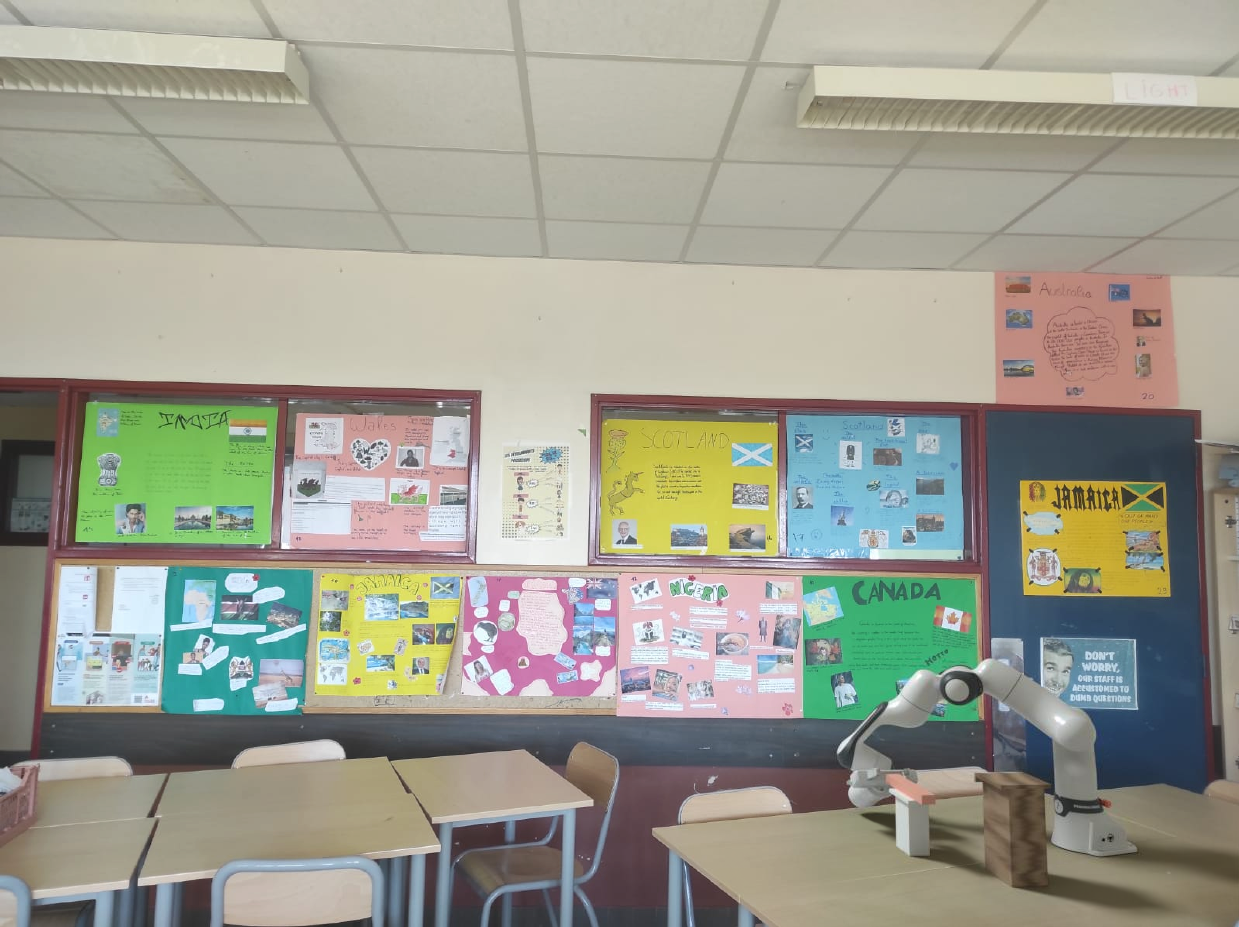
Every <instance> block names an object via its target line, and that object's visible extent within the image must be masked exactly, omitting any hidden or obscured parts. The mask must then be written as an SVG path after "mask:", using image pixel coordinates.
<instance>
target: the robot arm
mask: <svg viewBox="0 0 1239 927" xmlns="http://www.w3.org/2000/svg"><path fill="white" fill-rule="evenodd" d="M983 694H986V695H989V696H991V697H992V698H994V699H996V700H998V701H999V702H1000V703H1001V704H1002V705H1005V706H1006V707H1007V708H1008V709H1011V710H1012V711H1013V712H1015V713H1016V714H1018V715H1019V716H1021V717H1022V718H1024V719H1025V720H1027V722H1029V723H1030V724H1032V725H1033V726H1034V727H1036V728H1037V729H1038V730H1040V731H1041V732H1042V733H1044V734H1045V735H1046V736H1048V738H1050V739H1052V753H1053V756H1052V757H1053V771H1054V772H1053V773H1054V774H1053V775H1054V792H1053V807H1054V823H1053V830H1052V836H1051V839H1050V841H1051V843H1052V844H1054V845H1055V846H1057V847H1060V848H1062V849H1065V850H1069V851H1073V852H1077V853H1083V854H1088V855H1091V856H1095V857H1107V856H1115V855H1124V854H1129V853H1130V854H1131V853H1137V852H1138V848H1137V846H1136V845H1135V844H1134V843H1131V842H1130V841H1128V837H1127V836H1128V835H1127V833H1126V829H1125V827H1124V826H1123V825H1122V824H1121V823H1120V822H1119V821H1117V820H1116V819H1115V818H1113V817H1112V816H1111V815H1110V814H1109V813H1108V812H1106V811H1105V808H1107V809H1110V808H1111V807H1112V802H1111V801H1110V800H1107V799H1102V798H1100V797H1098V780H1097V779H1098V778H1097V776H1098V775H1097V766H1096V765H1097V764H1096V755H1095V746H1094V745H1095V742H1096V740H1097V732H1096V727H1095V725H1094V724H1093V721H1092V719H1091V718H1090V716H1089V714H1087V712H1085V711H1084V710H1083V709H1082V708H1079V707H1077V706H1073V705H1069V704H1068V703H1067V702H1065V701H1063V700H1062V699H1060V698H1059V697H1058V696H1056V695H1055V694H1054V693H1052V692H1051V691H1049V690H1048V689H1047V688H1045V687H1043V686H1042V685H1040V684H1039V683H1038V682H1036V681H1034V680H1033V679H1031V678H1030V677H1028V676H1026V675H1025V674H1024V673H1022V672H1020V671H1018V670H1017V669H1015V668H1013V667H1012V666H1010V665H1008V664H1006V663H1004V662H1002V661H1000V660H997V659H995V658H987V659H986V658H985V659H984V660H983V661H981V662H980V663H979V664H978V665H977V666H976V668H974V669H972V668H971V667H970V666H968V665H964V664H956V665H952V666H950V667H947V668H946V669H944V670H942V671H940V672H939V673H938V674H937V673H935V672H934V671H931V670H928V669H919V670H917V671H915V673H914V674H913V675H912V676H911V677H910V678H909V679H908V681H907V682H906V683H905V684H904V686H903V688H902V689H901V691H900V692H899V693H898V694H897V696H895V697H894V698H893V699H891V700H889V701H882V702H880V703H879V704H878V705H877V706H876V707H874V709H873V710H872V711H871V712H870V713H868V714H867V716H866V717H865V718H864V719H863V720H862V722H860V724H859V725H858V726H857V727H856V728H855V729H854V730H853V731H852V732H851V733H850V734H849V735H848V736H847V737H846V738H845V739H844V740H843V741H841V743H840V745H839V746H838V747H837V750H836V757H837V760H838V762H839V764H840V766H841V767H843V768H845V769H847V770H849V771H852V773H851V774H850V775H849V776H850V779H848V780H847V781H846V785H849V786H850V787H849V789H848V793H847V794H848V798H849V800H850V801H851V803H852V804H853V805H854V806H856V807H857V808H859V809H860V808H861V809H866V808H870V807H872V806H873V805H876V804H877V803H878V802H879V801H881V800H883V799H887V798H889V797H892V796H893V797H894V795H893V794H891V793H890V792H889V789H895V788H894V787H892V786H891V785H889V784H887V783H886V774H899V775H901V776H903V777H905V778H906V779H908V780H910V781H912V782H913V783H915V784H917V785H918V782H919V778H918V774H917V771H916V770H915V769H910V768H909V767H908V768H907V767H906V768H905V767H904V768H903V769H895V765H894V762H893V761H892V759H891V758H890V757H888V756H886V755H884V754H882V753H881V752H879V751H877V750H876V749H874V748H872V747H870V746H869V745H867V744H865V743H864V742H865V741H866V740H867V739H868V737H870V736H871V734H873V732H874V731H875V730H876V729H877V728H878V727H880V726H883V725H888V726H889V725H892V726H896V727H901V728H909V729H911V728H918V727H920V726H923V725H924V724H925V723H926V721H927V720H929V718H930V716H931V714H932V713H933V711H934V710H935V708H936V707H937V705H938V703H939V702H940V701H941V700H945V701H946V702H948V703H949V704H951V705H953V706H960V707H962V706H967V705H968V704H970V703H972V702H974V701H975V700H976V699H977V698H979V697H981V696H982V695H983ZM1104 807H1105V808H1104Z"/></svg>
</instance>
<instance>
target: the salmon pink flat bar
mask: <svg viewBox="0 0 1239 927" xmlns="http://www.w3.org/2000/svg"><path fill="white" fill-rule="evenodd" d="M886 783H887V784H889V785H891V786H892V787H894V788H895V789H897V790H899V791H900V792H902V793H904V794H905V795H907V796H908V797H910V798H912V799H913V800H915V801H917V802H918V803H920V804H922V805H929V806H930V805H931V806H933V805H936V803H937V802H936V794H934V793H933V792H930V791H929V790H927V789H925V788H924V787H922V786H921V785H918V783H917V784H915V783H913V782H912V781H910V780H908V779H906V778H905V777H903V776H901V775H899V774H886Z"/></svg>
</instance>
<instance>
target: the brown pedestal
mask: <svg viewBox="0 0 1239 927" xmlns="http://www.w3.org/2000/svg"><path fill="white" fill-rule="evenodd" d="M973 778H974V779H973V780H974V783H981V784H982V806H983V807H982V809H983V810H982V811H983V813H982V814H983V837H984V840H983V841H984V842H983V843H984V869H985V870H986V871H987V872H989V873H990V874H992V875H994V877H996V878H997V879H999V880H1001V881H1002V882H1004V883H1005V884H1007V885H1008V886H1010V887H1011V888H1017V887H1018V888H1019V887H1021V888H1022V887H1023V888H1024V887H1045V886H1047V887H1048V886H1049V870H1048V852H1047V851H1048V845H1047V824H1046V823H1047V822H1046V821H1047V820H1046V801H1045V800H1046V798H1045V796H1046V795H1045V789H1052V783H1049V782H1046V781H1045V780H1041V779H1040V778H1037V777H1035V776H1033V775H1031V774H1028V773H1025V772H1023V771H992V772H991V771H989V772H986V771H985V772H983V771H982V772H980V771H979V772H974V773H973Z"/></svg>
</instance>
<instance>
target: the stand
mask: <svg viewBox="0 0 1239 927" xmlns="http://www.w3.org/2000/svg"><path fill="white" fill-rule="evenodd" d="M889 792H890V793H891V794H893V795H894V796H895V797H894V796H893V797H894V798H895V845H896V846H895V847H897V848H899V849H900V850H901V851H902V852H904V854H906V855H908V856H909V857H918V856H926V857H927V856H930V855H931V854H930V853H931V850H930V817H929V816H930V810H929V809H930V808H929V806H930V805H922V804H920V803H918V802H917V801H915V800H913V799H912V798H910V797H908V796H907V795H905V794H904V793H902V792H900V791H899V790H897V789H889Z"/></svg>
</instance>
